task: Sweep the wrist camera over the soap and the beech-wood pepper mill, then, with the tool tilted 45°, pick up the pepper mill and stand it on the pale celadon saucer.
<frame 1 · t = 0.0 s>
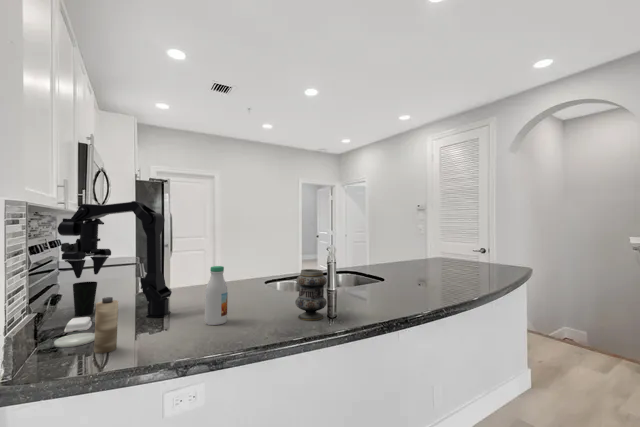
hand: (87, 276, 122), 15 cm above the countertop, tool pointing down, fingers open, 9 cm apart
milk bottle: (215, 322, 113), on the countertop
soap: (78, 328, 106), on the countertop
apothecary jar: (310, 317, 121), on the countertop
saucer: (76, 341, 94), on the countertop
cup: (84, 314, 122), on the countertop
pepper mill: (105, 349, 87), on the countertop
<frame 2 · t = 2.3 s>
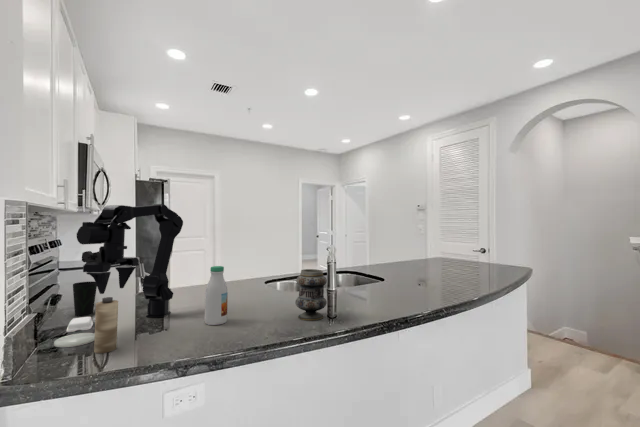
hand: (112, 290, 103), 13 cm above the countertop, tool pointing down, fingers open, 9 cm apart
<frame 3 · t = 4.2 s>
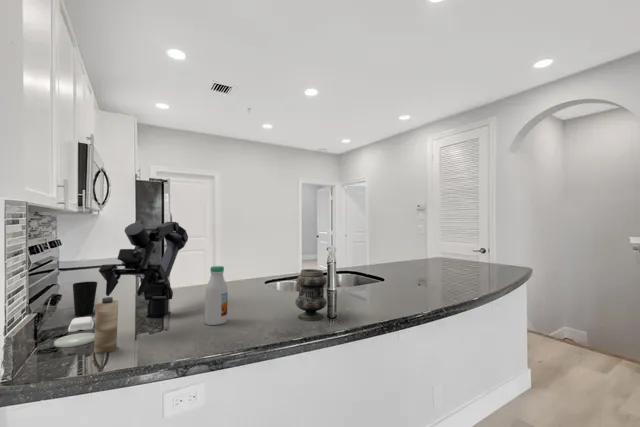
hand: (122, 295, 96), 13 cm above the countertop, tool tilted 45°, fingers open, 9 cm apart
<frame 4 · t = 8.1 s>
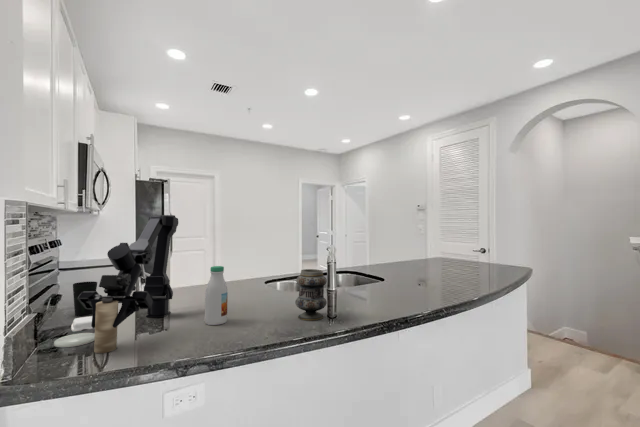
hand: (103, 327, 86), 7 cm above the countertop, tool tilted 45°, fingers closed on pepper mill, 5 cm apart
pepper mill: (105, 349, 87), on the countertop, touching gripper
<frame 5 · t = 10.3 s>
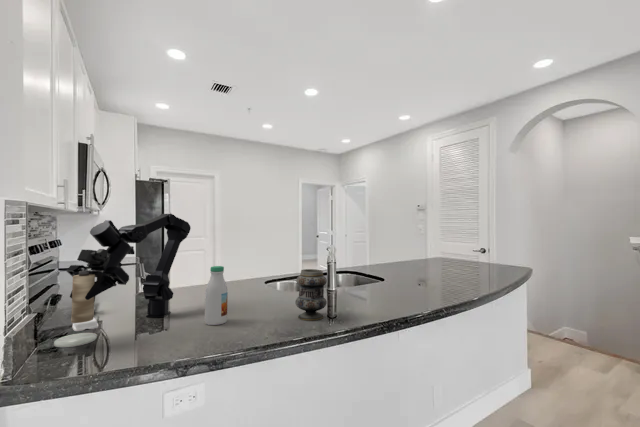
hand: (78, 298, 91), 13 cm above the countertop, tool tilted 45°, fingers closed on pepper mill, 5 cm apart
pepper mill: (82, 320, 92), point 7 cm above the countertop, touching gripper
when the fingers open (9 cm above the countertop, at t = 12.9 s): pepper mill drops 1 cm, resting on saucer.
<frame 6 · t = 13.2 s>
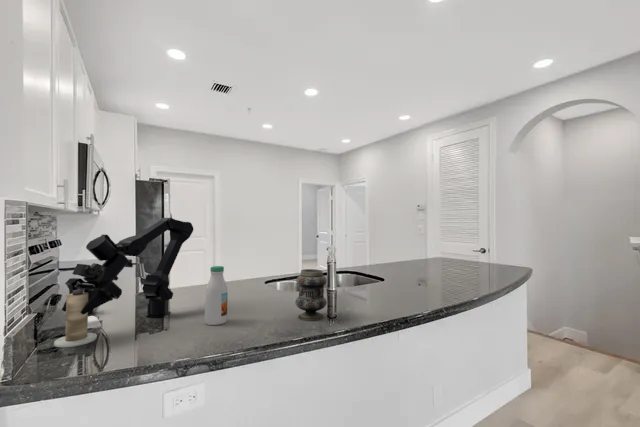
hand: (72, 312, 93), 9 cm above the countertop, tool tilted 45°, fingers open, 8 cm apart
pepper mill: (76, 338, 94), point 1 cm above the countertop, touching saucer
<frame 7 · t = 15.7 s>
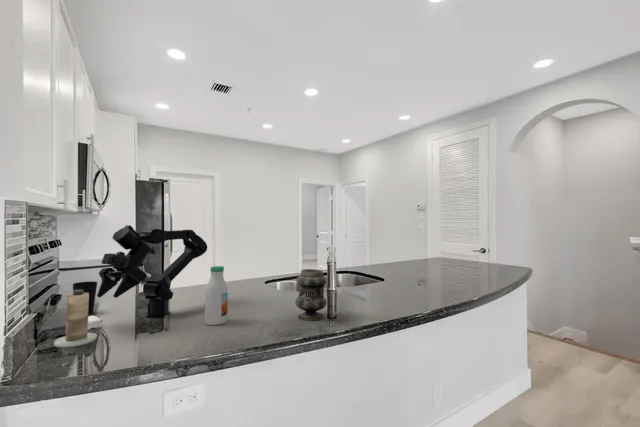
hand: (106, 297, 102), 11 cm above the countertop, tool tilted 40°, fingers open, 9 cm apart
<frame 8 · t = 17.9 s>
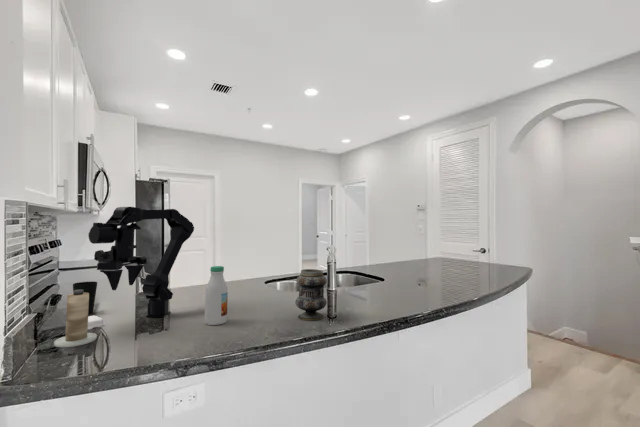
hand: (122, 287, 109), 13 cm above the countertop, tool pointing down, fingers open, 9 cm apart
at the end: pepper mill 0.1 cm from the saucer (horizontally); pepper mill tilted 0°; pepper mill touching saucer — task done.
